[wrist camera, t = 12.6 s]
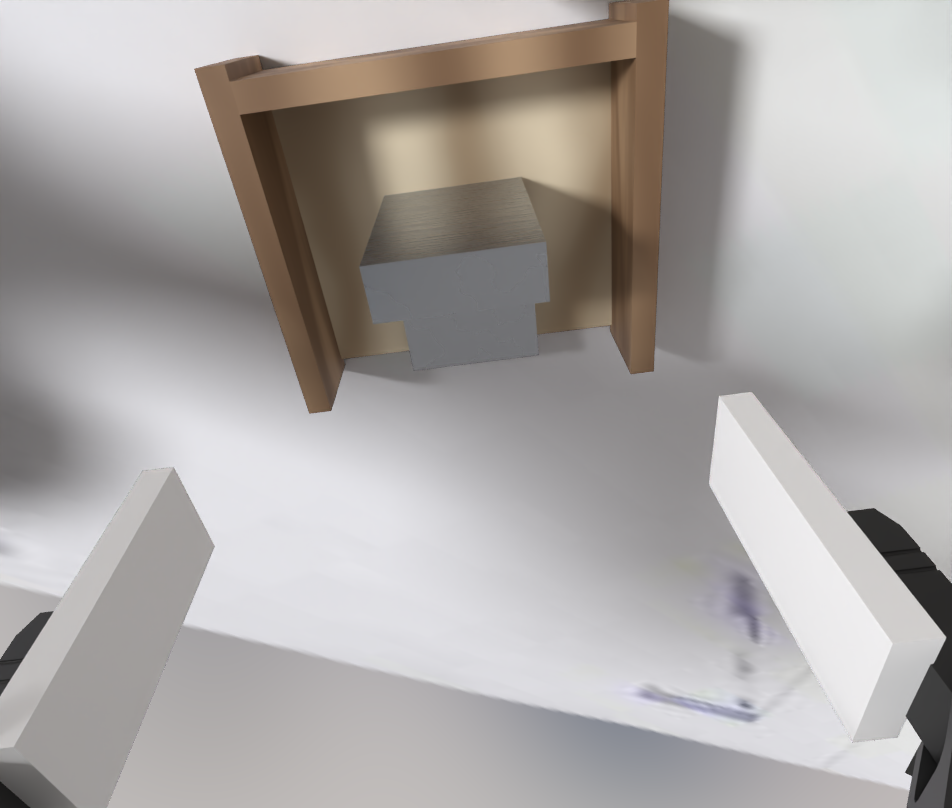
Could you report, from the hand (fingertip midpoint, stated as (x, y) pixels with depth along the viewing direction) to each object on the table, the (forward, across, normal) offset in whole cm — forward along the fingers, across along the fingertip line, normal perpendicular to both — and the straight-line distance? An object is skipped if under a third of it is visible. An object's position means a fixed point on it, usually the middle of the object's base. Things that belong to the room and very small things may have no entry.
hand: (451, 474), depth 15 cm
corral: (+21, +1, 0) cm, 21 cm away
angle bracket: (+20, +1, -3) cm, 20 cm away
